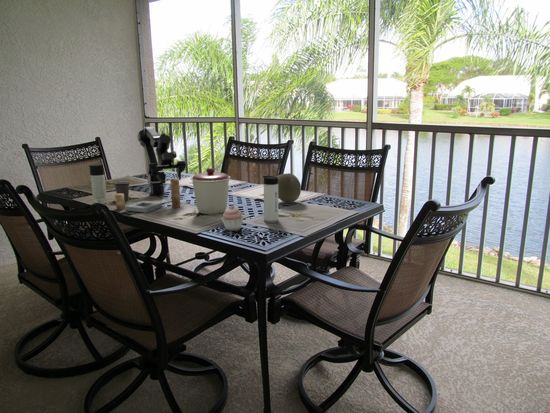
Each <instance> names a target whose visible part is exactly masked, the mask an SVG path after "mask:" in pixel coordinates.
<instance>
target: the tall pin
mask: <svg viewBox="0 0 550 413" xmlns="http://www.w3.org/2000/svg"><path fill="white" fill-rule="evenodd" d="M169 180H170V194H171V196H170V197H171V208H172V209H180V208H181V194H180V180H179V178H176V177H175V178H170V179H169Z"/></svg>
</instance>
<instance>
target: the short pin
mask: <svg viewBox="0 0 550 413" xmlns="http://www.w3.org/2000/svg"><path fill="white" fill-rule="evenodd" d="M114 196H115V205H116V206H115V207H116V210H124V209H125V210H126V203H125V201H126V200H125V201H124V194H117V193H116V194H114Z"/></svg>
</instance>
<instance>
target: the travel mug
mask: <svg viewBox="0 0 550 413" xmlns="http://www.w3.org/2000/svg"><path fill="white" fill-rule="evenodd" d="M262 178H263V221H264V223H266V222H267V224H276V223H278V222H279V198H278V178H277V176H275V175H274V176H273V175H262ZM275 222H276V223H275Z"/></svg>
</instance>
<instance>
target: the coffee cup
mask: <svg viewBox="0 0 550 413" xmlns="http://www.w3.org/2000/svg"><path fill="white" fill-rule="evenodd" d="M130 183H131V182H130V181H128V180H117V181H115V182H113V185H114V188H115V193H116V194H124V201H128V200H129V199H130V198H129V195H130V194H129V192H130V191H129V190H130Z"/></svg>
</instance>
